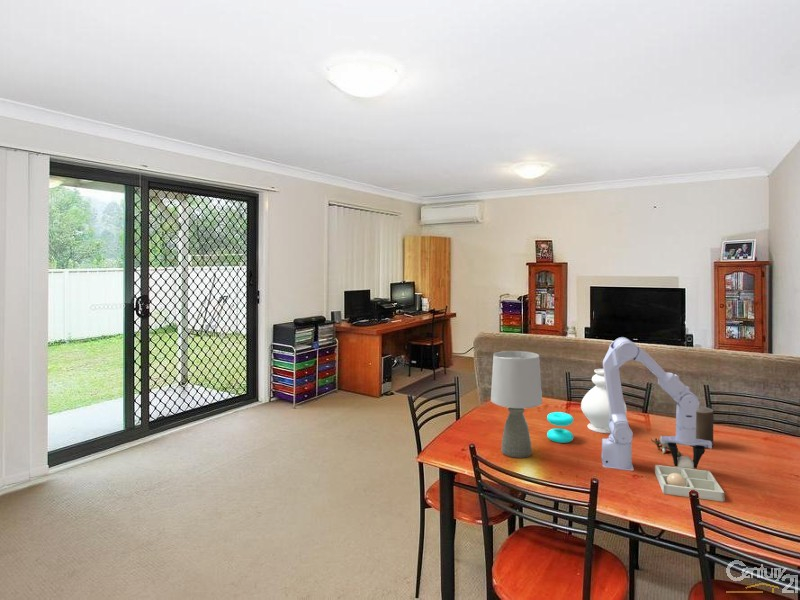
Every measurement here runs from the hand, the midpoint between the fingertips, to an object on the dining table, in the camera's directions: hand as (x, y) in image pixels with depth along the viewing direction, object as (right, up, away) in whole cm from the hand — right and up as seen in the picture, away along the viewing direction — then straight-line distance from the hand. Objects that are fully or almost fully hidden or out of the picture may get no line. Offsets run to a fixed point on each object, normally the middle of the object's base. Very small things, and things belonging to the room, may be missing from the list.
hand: (685, 466), depth 154 cm
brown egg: (-11, -2, -13) cm, 18 cm away
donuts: (-31, -1, +31) cm, 44 cm away
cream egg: (0, -2, 0) cm, 2 cm away
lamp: (-52, -2, +19) cm, 55 cm away
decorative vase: (-8, +1, +43) cm, 44 cm away
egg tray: (-6, -2, -11) cm, 13 cm away
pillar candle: (+20, 0, +24) cm, 31 cm away
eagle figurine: (+3, -1, +15) cm, 16 cm away
